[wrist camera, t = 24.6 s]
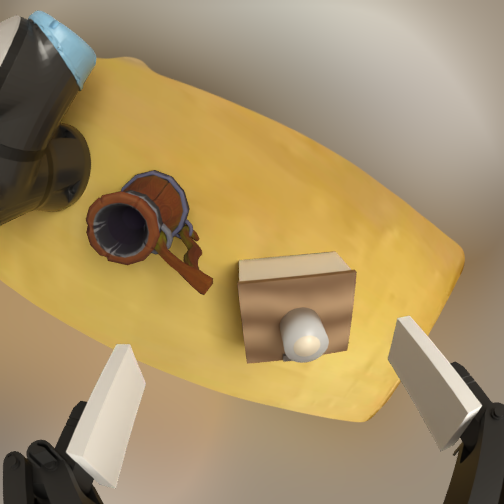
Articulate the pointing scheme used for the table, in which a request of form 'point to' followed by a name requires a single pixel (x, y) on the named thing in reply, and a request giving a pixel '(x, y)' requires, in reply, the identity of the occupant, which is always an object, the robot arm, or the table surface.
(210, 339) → the table surface
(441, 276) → the table surface
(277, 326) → the lid
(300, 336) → the grey squat drum
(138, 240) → the mug
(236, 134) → the table surface
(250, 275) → the box
